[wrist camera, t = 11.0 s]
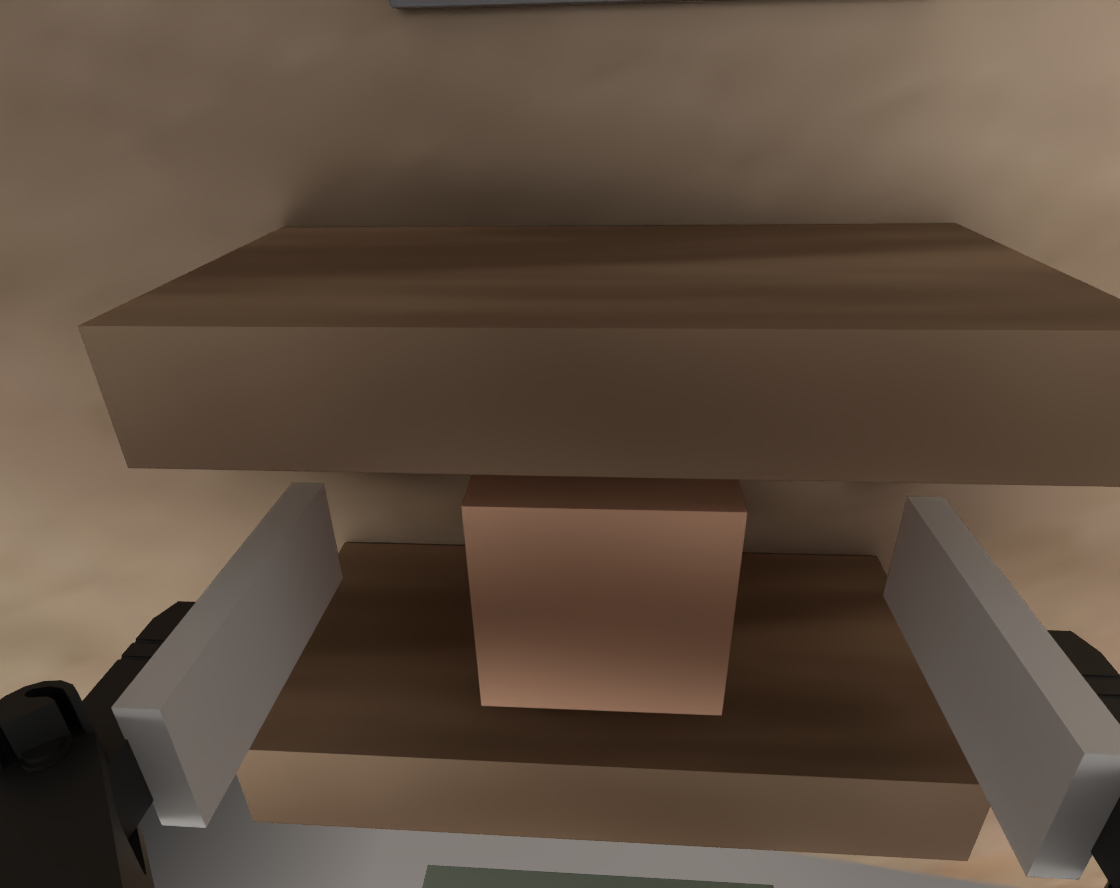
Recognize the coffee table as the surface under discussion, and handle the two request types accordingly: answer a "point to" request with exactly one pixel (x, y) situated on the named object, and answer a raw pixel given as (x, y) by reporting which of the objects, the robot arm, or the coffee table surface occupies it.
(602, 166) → the coffee table surface
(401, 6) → the mat
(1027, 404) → the brown parallel walls
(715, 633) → the block
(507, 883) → the cover
